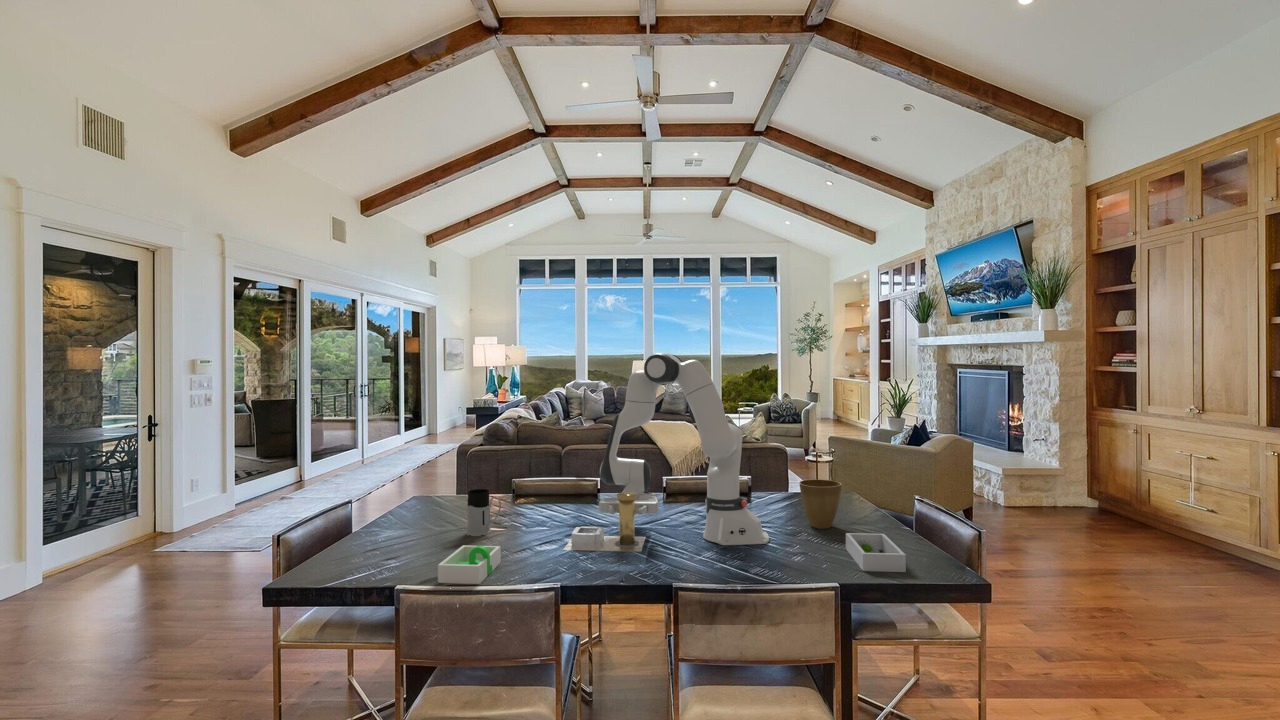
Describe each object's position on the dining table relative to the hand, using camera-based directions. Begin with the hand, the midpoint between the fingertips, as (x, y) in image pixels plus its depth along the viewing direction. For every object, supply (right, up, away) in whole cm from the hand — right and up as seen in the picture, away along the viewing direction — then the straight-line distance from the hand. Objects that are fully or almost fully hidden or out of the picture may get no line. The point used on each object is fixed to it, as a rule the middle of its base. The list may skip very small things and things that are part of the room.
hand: (626, 511), depth 199 cm
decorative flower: (+76, -12, -14) cm, 78 cm away
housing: (-7, -12, +2) cm, 14 cm away
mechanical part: (-45, -13, -21) cm, 51 cm away
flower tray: (+76, -11, -13) cm, 78 cm away
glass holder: (-51, -13, +19) cm, 56 cm away
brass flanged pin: (0, -11, +1) cm, 11 cm away
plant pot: (+71, -12, +25) cm, 76 cm away
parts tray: (-45, -13, -21) cm, 51 cm away
